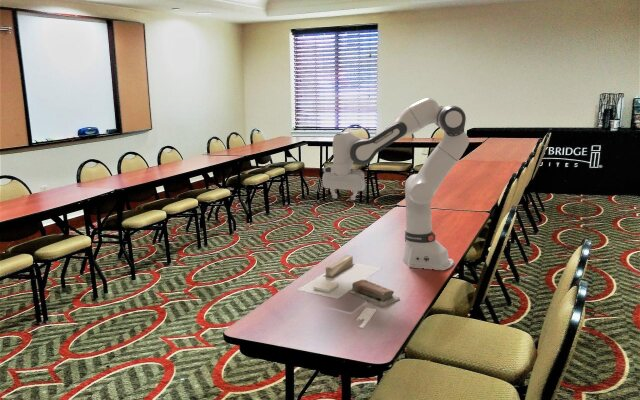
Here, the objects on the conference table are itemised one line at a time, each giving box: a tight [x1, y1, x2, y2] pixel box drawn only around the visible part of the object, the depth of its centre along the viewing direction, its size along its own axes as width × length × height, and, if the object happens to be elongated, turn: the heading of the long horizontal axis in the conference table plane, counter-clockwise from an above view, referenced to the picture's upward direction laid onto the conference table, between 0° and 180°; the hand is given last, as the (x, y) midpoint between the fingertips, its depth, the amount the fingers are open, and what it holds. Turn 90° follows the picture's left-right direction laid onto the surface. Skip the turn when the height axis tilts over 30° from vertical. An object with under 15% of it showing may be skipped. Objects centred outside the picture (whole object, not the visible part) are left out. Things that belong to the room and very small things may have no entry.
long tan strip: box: [325, 254, 354, 277], centre depth 227 cm, size 3×18×4 cm, turn 148°
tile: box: [314, 280, 339, 293], centre depth 208 cm, size 7×1×8 cm
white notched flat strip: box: [355, 307, 377, 330], centre depth 181 cm, size 5×15×1 cm, turn 157°
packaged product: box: [348, 279, 401, 308], centre depth 199 cm, size 18×5×10 cm
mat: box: [296, 262, 382, 300], centre depth 218 cm, size 19×38×1 cm, turn 148°
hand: (343, 198), depth 234 cm, fingers open, 8 cm apart
